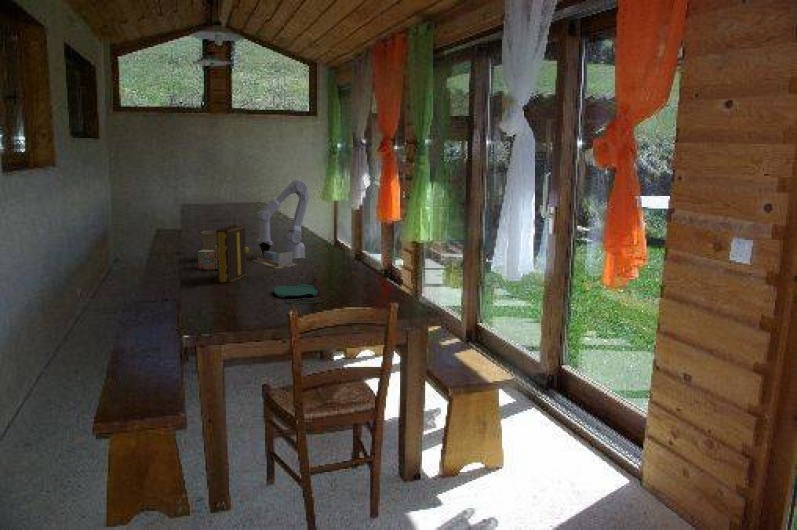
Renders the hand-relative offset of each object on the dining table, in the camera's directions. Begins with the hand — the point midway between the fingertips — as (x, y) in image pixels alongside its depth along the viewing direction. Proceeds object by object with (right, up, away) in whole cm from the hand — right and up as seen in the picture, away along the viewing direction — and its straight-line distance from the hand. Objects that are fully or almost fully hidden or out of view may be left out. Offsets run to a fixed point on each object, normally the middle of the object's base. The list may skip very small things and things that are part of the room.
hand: (265, 256), depth 354 cm
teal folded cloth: (+30, -19, -78) cm, 86 cm away
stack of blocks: (-19, -7, -21) cm, 29 cm away
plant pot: (-27, -2, 0) cm, 28 cm away
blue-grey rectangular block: (+4, -3, -5) cm, 7 cm away
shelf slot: (+6, -4, -7) cm, 10 cm away
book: (-6, -11, -45) cm, 46 cm away
